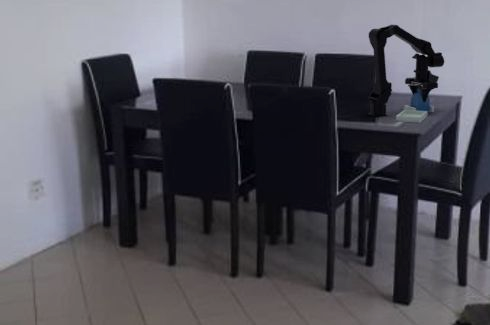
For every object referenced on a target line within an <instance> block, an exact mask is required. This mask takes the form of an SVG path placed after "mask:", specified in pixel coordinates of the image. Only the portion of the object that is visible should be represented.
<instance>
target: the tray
mask: <svg viewBox="0 0 490 325" xmlns="http://www.w3.org/2000/svg"><path fill="white" fill-rule="evenodd" d="M428 113H429V112H428V111H416V110H402V111H401V112H400V113H398V114H397V115H395V122H404V123H405V122H407V123H420V124H421V122H423V121H424V120H425V119H426V118H427V117H428Z"/></svg>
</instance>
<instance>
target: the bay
mask: <svg viewBox="0 0 490 325" xmlns="http://www.w3.org/2000/svg"><path fill="white" fill-rule="evenodd" d="M402 108H403V110H416V108H414V107H411V104H404V105H403V107H402ZM403 110H402V111H403ZM429 112H431V113H433V112H435V106H434V105H430V104H429Z"/></svg>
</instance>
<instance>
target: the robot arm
mask: <svg viewBox="0 0 490 325" xmlns="http://www.w3.org/2000/svg"><path fill="white" fill-rule="evenodd" d="M393 36H394V37H397V38H398V39H400V40H402V41H403V42H404V43H406V44H408V45H409V46H410V47H411V49H412V50H413V51H415V54H414V55H413V56H412V57H411V58H412V59H414V60H415V69H413V73H414V74H415V75H414V77H406V78H405V80H404V84H405V85H407V86H408V87H409V89H410V92H411V94H412V96H413V95H414V93H418V91H417V89H418V86H423V88H420V89H421V94H422V100H423V102H426V99H427V97H429V94H430V92H432V90H435V89H439V83H438V81H439V76H438V75H435V74H433V73H432V72H431V70H429V68H442V67H443V66H444V64H445V57H444V56H443V53H442V52H440V51H439V52H438V51H437V52H436V51H435V50H434V48H433V47H432V43H431V42H430V41H428V40H425V39H422V38H418V37H416V36H415V35H413V34H412V33H410V32H408V31H407V30H405V29H404V28H402V27H400V26H399V25H397V24H390V25H387V26H383V27H379V28H373V29H370V31H369V32H368V40H369V44H370V45H371V48H372V49H373V60H374V71H375V72H374V74H375V81H374V83H373V86H372V88H373V89H372V90H373V91H371V93H370V94H369V95H368V97H367V98H368V99H367V100H368V101H369V102H370V105H369V107H370V108H369V113H368V115H369V116H372V117H375V118H376V117H386V116H387V115H388V114H386V113H387V105H386V104H387V103H388V101H389V100H390V99H389V98H390V97H391V96H392V92H393V89H392V86H393V85H392V82H390V81H388V80H387V70H386V69H387V67H386V56H385V55H386V53H385V48H386V45H387V41H388V39H389V38H391V37H393Z"/></svg>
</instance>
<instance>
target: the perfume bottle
mask: <svg viewBox="0 0 490 325" xmlns="http://www.w3.org/2000/svg"><path fill="white" fill-rule="evenodd" d="M420 88H423V86H422V85H421V86H418V89H417V91H418V93H414V95H413V94H412V96H411V97H410V105H411V107H414V108H416V111H428V113H429V112H430V111H429V105H430V100H431V99H430V97H429V96H428V97H427V99H426V102H423V100H422V94H421V89H420Z"/></svg>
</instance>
